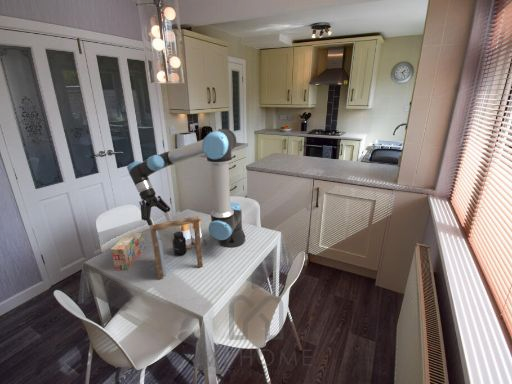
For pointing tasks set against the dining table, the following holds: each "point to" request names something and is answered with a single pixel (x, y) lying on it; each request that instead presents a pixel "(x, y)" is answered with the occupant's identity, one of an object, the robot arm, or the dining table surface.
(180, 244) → the supplement bottle
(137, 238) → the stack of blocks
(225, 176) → the robot arm
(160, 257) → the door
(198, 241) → the door frame
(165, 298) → the dining table surface
